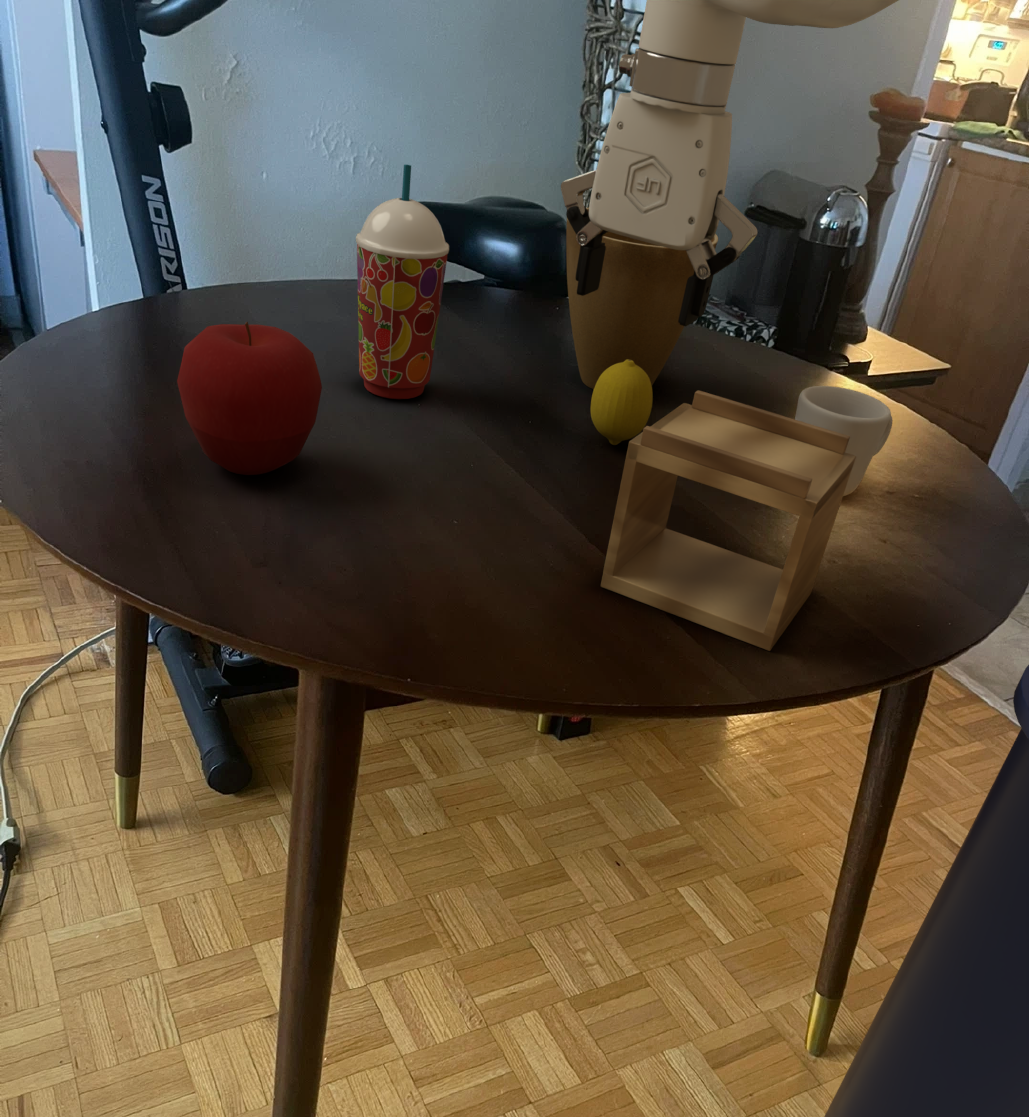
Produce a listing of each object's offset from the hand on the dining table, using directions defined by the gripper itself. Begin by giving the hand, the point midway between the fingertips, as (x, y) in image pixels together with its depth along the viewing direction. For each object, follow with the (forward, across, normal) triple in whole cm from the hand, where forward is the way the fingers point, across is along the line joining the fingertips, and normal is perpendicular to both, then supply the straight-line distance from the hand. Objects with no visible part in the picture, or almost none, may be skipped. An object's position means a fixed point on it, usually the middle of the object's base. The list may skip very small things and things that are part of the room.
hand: (636, 307), depth 92 cm
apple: (+13, -20, -27) cm, 36 cm away
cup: (+12, +20, +7) cm, 24 cm away
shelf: (+12, +18, -20) cm, 29 cm away
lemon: (+13, 0, 0) cm, 13 cm away
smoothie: (+13, -22, -4) cm, 25 cm away
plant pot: (+13, -6, +15) cm, 21 cm away
